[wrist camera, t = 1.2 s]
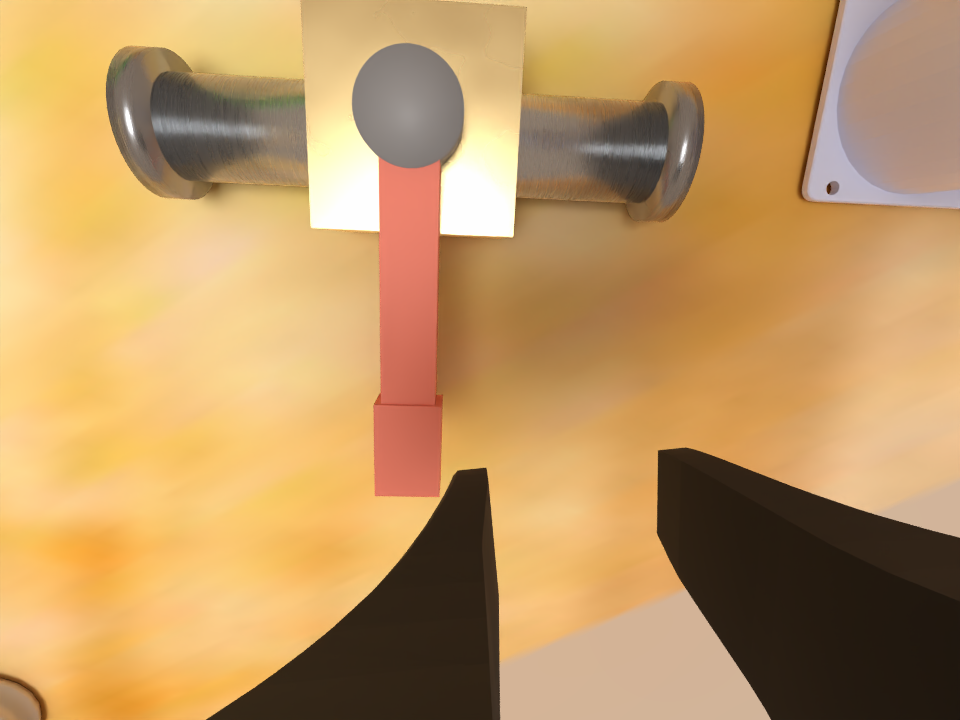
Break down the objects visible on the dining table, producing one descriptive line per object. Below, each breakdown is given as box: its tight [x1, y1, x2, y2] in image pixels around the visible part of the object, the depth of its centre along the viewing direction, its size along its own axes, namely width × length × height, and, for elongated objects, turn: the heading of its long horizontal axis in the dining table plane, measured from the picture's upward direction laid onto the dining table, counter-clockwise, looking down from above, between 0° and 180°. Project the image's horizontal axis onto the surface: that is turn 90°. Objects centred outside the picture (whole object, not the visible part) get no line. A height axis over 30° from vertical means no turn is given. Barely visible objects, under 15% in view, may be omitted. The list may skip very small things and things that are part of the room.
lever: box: [352, 43, 464, 497], centre depth 13 cm, size 12×3×1 cm, turn 177°
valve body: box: [106, 0, 704, 239], centre depth 15 cm, size 17×6×5 cm, turn 87°
